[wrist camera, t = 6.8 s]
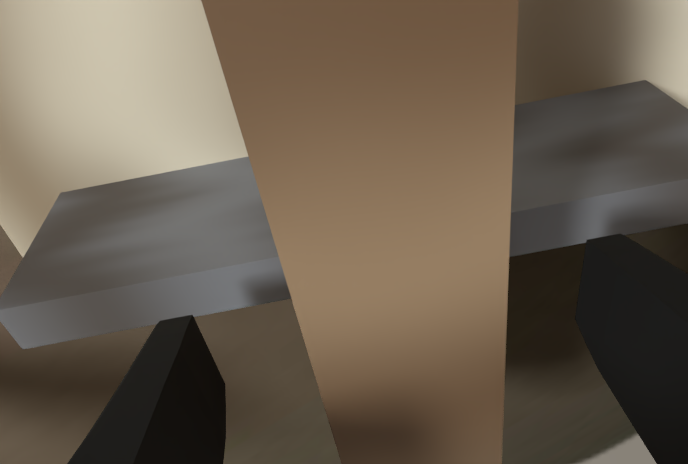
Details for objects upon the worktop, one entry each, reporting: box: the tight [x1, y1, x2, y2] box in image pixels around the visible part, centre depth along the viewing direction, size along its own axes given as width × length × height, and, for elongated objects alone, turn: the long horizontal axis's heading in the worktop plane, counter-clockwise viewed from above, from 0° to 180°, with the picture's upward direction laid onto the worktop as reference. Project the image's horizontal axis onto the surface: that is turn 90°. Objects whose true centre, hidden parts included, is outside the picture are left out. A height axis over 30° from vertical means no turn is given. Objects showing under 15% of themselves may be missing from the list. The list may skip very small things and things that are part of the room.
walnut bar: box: [201, 0, 519, 464], centre depth 10 cm, size 16×3×4 cm, turn 9°
